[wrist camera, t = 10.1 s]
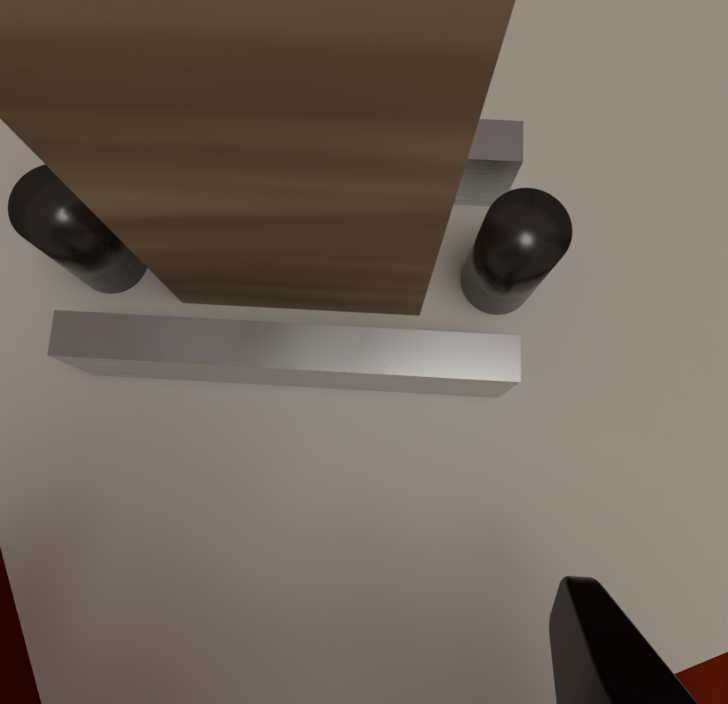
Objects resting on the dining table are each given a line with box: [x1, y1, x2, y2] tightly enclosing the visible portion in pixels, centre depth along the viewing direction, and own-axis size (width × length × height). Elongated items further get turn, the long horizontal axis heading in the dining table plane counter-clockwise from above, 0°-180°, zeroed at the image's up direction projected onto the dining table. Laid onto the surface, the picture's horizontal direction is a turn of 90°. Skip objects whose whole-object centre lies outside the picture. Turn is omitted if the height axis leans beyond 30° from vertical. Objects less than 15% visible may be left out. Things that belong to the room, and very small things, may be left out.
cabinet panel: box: [0, 0, 728, 704], centre depth 18 cm, size 23×19×1 cm
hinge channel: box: [8, 119, 572, 398], centre depth 16 cm, size 6×12×4 cm, turn 87°
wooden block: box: [0, 0, 516, 316], centre depth 12 cm, size 3×6×12 cm, turn 87°
